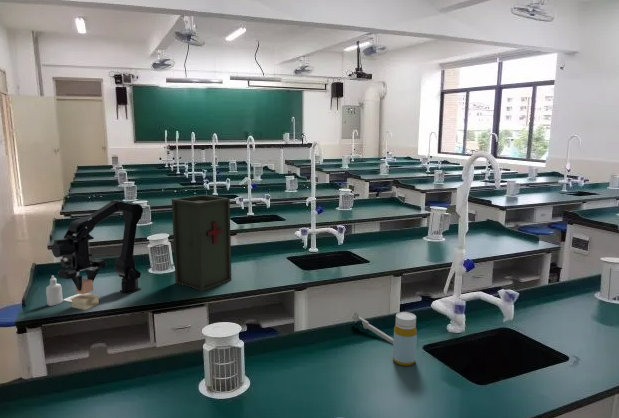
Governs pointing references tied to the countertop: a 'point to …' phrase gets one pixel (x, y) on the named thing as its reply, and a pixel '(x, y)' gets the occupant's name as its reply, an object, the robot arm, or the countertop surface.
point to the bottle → (405, 339)
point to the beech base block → (85, 301)
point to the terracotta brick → (86, 286)
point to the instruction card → (71, 298)
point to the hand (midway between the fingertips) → (84, 288)
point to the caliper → (371, 328)
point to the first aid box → (202, 241)
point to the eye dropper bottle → (54, 293)
